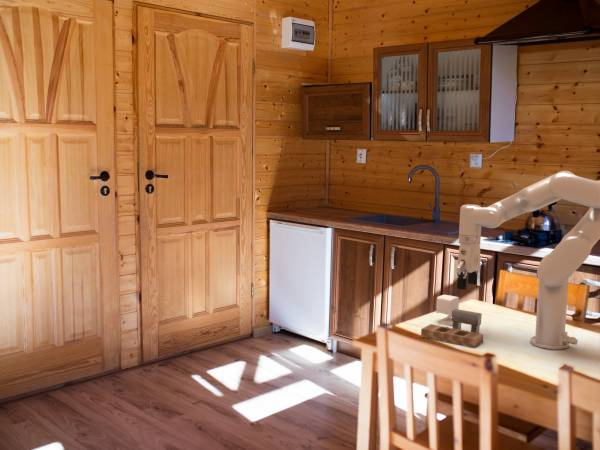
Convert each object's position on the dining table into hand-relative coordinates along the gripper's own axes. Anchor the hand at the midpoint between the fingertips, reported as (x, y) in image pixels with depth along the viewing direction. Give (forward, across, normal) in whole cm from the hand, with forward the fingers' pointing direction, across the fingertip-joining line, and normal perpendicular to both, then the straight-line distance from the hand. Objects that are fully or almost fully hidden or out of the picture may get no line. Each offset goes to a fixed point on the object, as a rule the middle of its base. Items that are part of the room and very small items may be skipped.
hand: (467, 286), depth 248 cm
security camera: (+18, +9, +11) cm, 23 cm away
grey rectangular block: (+17, 0, 0) cm, 17 cm away
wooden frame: (+17, -10, 0) cm, 20 cm away
